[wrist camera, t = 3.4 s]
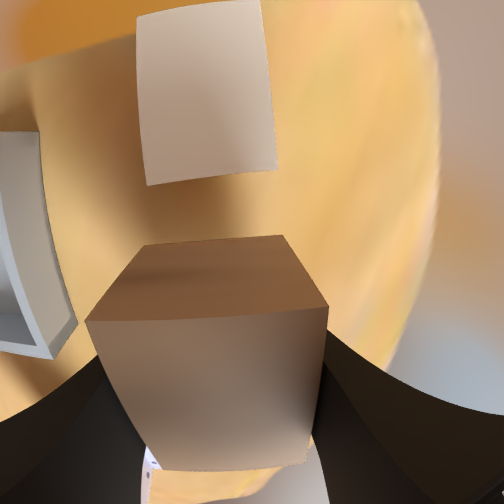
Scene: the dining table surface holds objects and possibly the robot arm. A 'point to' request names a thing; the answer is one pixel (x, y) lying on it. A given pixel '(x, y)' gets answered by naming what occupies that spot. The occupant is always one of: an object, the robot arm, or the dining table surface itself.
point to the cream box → (204, 92)
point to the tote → (29, 256)
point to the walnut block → (215, 352)
